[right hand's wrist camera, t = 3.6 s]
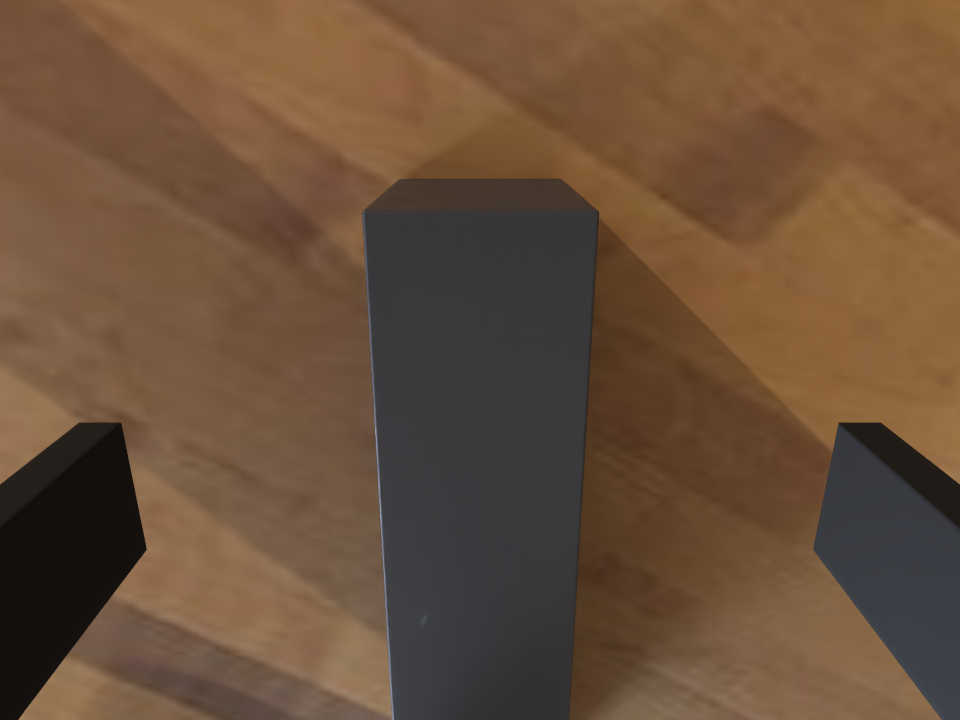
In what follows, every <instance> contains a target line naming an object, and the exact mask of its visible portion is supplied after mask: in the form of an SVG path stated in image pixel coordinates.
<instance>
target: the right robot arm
mask: <svg viewBox="0 0 960 720" xmlns="http://www.w3.org/2000/svg"><path fill="white" fill-rule="evenodd" d="M146 550H147V548H146V543H145V538H144V533H143V529H142V524H141V519H140V514H139V509H138V504H137V499H136V494H135V489H134V484H133V479H132V474H131V469H130V464H129V459H128V454H127V449H126V444H125V439H124V434H123V429H122V424H121V423H78V424H77V425H76V426H74V427H73V428H72V429H71V430H69V431H68V432H67V433H65V434H64V435H63V436H62V437H60V438H59V439H58V440H57V441H55V442H54V443H53V444H51V445H50V446H49V447H48V448H46V449H45V450H44V451H42V452H41V453H40V454H39V455H37V456H36V457H35V458H34V459H32V460H31V461H30V462H28V463H27V464H26V465H25V466H23V467H22V468H21V469H19V470H18V471H17V472H16V473H14V474H13V475H12V476H11V477H9V478H8V479H7V480H5V481H4V482H3V483H2V484H0V720H18V719H19V718H20V716H21V715H22V714H23V712H24V711H25V710H26V708H27V707H28V706H29V705H30V703H31V702H32V701H33V699H34V698H35V697H36V695H37V694H38V693H39V691H40V690H41V689H42V687H43V686H44V685H45V683H46V682H47V681H48V679H49V678H50V677H51V675H52V674H53V673H54V671H55V670H56V669H57V668H58V666H59V665H60V664H61V662H62V661H63V660H64V658H65V657H66V656H67V654H68V653H69V652H70V650H71V649H72V648H73V646H74V645H75V644H76V642H77V641H78V640H79V638H80V637H81V636H82V634H83V633H84V632H85V630H86V629H87V628H88V627H89V625H90V624H91V623H92V621H93V620H94V619H95V617H96V616H97V615H98V613H99V612H100V611H101V609H102V608H103V607H104V605H105V604H106V603H107V601H108V600H109V599H110V597H111V596H112V595H113V593H114V592H115V591H116V590H117V588H118V587H119V586H120V584H121V583H122V582H123V580H124V579H125V578H126V576H127V575H128V574H129V572H130V571H131V570H132V568H133V567H134V566H135V564H136V563H137V562H138V560H139V559H140V558H141V556H142V555H143V554H144V553H145V551H146ZM813 550H814V551H815V553H816V554H817V555H818V556H819V558H820V559H821V560H822V562H823V563H824V564H825V566H826V567H827V568H828V570H829V571H830V572H831V574H832V575H833V576H834V578H835V579H836V580H837V582H838V583H839V584H840V586H841V587H842V588H843V590H844V591H845V592H846V593H847V595H848V596H849V597H850V599H851V600H852V601H853V603H854V604H855V605H856V607H857V608H858V609H859V611H860V612H861V613H862V615H863V616H864V617H865V619H866V620H867V621H868V623H869V624H870V625H871V627H872V628H873V629H874V630H875V632H876V633H877V634H878V636H879V637H880V638H881V640H882V641H883V642H884V644H885V645H886V646H887V648H888V649H889V650H890V652H891V653H892V654H893V656H894V657H895V658H896V660H897V661H898V662H899V664H900V665H901V666H902V668H903V669H904V670H905V671H906V673H907V674H908V675H909V677H910V678H911V679H912V681H913V682H914V683H915V685H916V686H917V687H918V689H919V690H920V691H921V693H922V694H923V695H924V697H925V698H926V699H927V701H928V702H929V703H930V705H931V706H932V707H933V708H934V710H935V711H936V712H937V714H938V715H939V716H940V718H941V719H942V720H960V484H958V483H957V482H956V481H955V480H953V479H952V478H951V477H949V476H948V475H947V474H946V473H944V472H943V471H942V470H941V469H939V468H938V467H937V466H935V465H934V464H933V463H932V462H930V461H929V460H928V459H926V458H925V457H924V456H923V455H921V454H920V453H919V452H918V451H916V450H915V449H914V448H912V447H911V446H910V445H909V444H907V443H906V442H905V441H903V440H902V439H901V438H900V437H898V436H897V435H896V434H895V433H893V432H892V431H891V430H889V429H888V428H887V427H886V426H884V425H883V424H882V423H839V424H838V429H837V434H836V439H835V444H834V449H833V454H832V459H831V464H830V469H829V474H828V479H827V484H826V489H825V494H824V499H823V504H822V509H821V514H820V519H819V524H818V529H817V533H816V538H815V543H814V548H813Z"/></svg>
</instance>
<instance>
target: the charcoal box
mask: <svg viewBox="0 0 960 720" xmlns="http://www.w3.org/2000/svg"><path fill="white" fill-rule="evenodd" d="M362 220H363V236H364V253H365V270H366V287H367V304H368V321H369V338H370V354H371V371H372V388H373V405H374V422H375V439H376V456H377V472H378V489H379V506H380V523H381V540H382V557H383V574H384V590H385V607H386V624H387V641H388V658H389V675H390V692H391V708H392V720H569V710H570V694H571V677H572V660H573V643H574V627H575V610H576V593H577V576H578V560H579V543H580V526H581V509H582V493H583V476H584V459H585V442H586V425H587V409H588V392H589V375H590V358H591V342H592V325H593V308H594V291H595V275H596V258H597V241H598V224H599V212H598V210H596V209H595V208H594V207H593V206H592V205H591V204H589V203H588V202H587V201H586V200H585V199H584V198H582V197H581V196H580V195H579V194H578V193H577V192H575V191H574V190H573V189H572V188H571V187H570V186H569V185H567V184H566V183H565V182H564V181H563V180H561V179H400V180H398V181H397V182H396V183H395V184H394V185H392V186H391V187H390V188H389V189H388V190H387V191H385V192H384V193H383V194H382V195H381V196H380V197H379V198H377V199H376V200H375V201H374V202H373V203H372V204H371V205H369V206H368V207H367V208H366V209H365V210H364V211H363V213H362Z"/></svg>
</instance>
